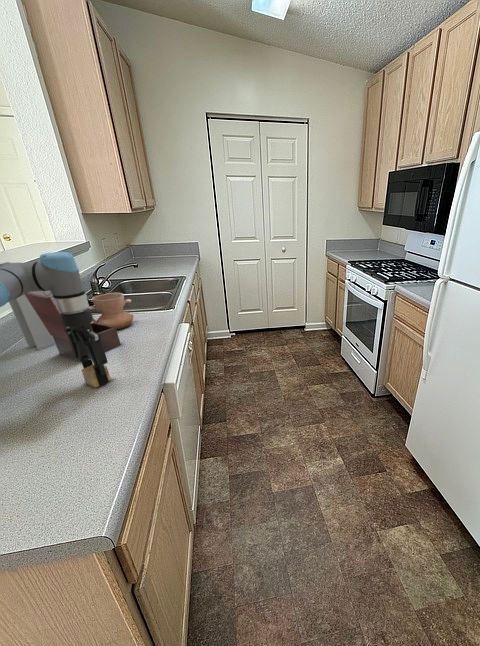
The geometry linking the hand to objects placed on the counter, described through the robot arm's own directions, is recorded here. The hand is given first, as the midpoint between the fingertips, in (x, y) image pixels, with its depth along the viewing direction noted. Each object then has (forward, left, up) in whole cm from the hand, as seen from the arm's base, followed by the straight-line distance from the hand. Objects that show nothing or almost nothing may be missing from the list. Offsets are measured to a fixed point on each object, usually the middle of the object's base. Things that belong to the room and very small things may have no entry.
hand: (98, 381), depth 104 cm
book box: (-18, +24, -1) cm, 30 cm away
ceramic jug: (-22, +48, -1) cm, 53 cm away
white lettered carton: (-39, +31, -1) cm, 50 cm away
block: (0, 0, 0) cm, 0 cm away
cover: (-21, +16, +16) cm, 31 cm away
